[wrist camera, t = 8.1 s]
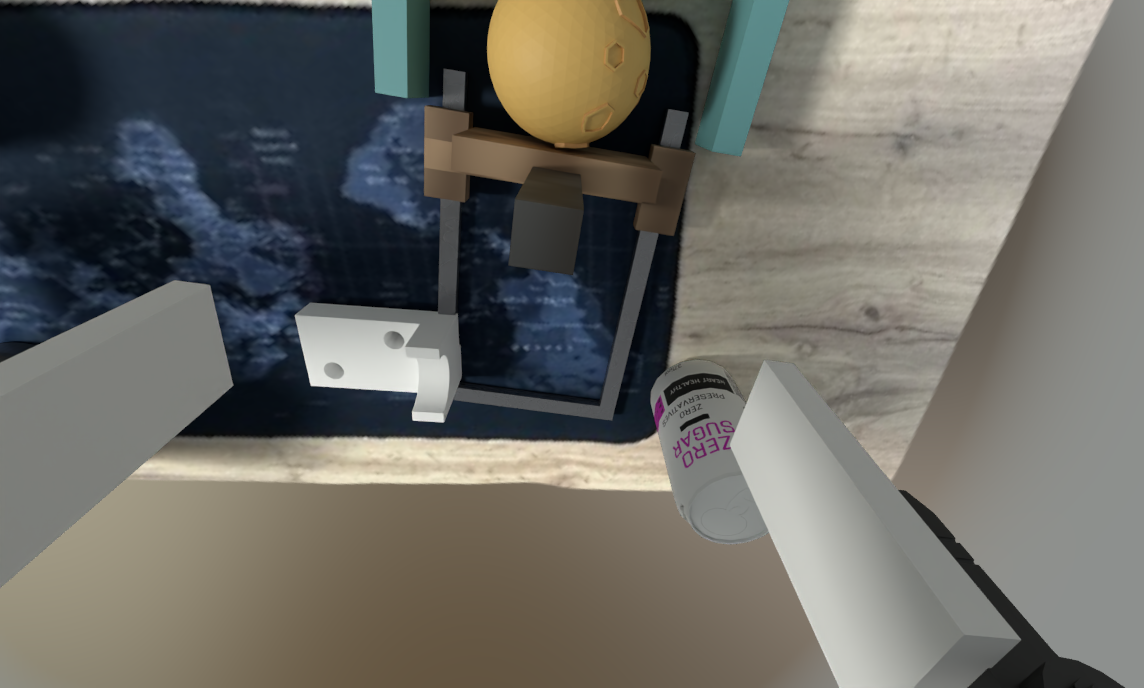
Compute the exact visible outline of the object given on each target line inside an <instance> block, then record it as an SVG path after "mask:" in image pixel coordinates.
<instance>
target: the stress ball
mask: <svg viewBox="0 0 1144 688" xmlns="http://www.w3.org/2000/svg"><path fill="white" fill-rule="evenodd" d="M649 30H650V29H649V24H648V20H647V15H646V12H645V9H644V6H643V4H642V1H641V0H498V2H497V4H496V6H495V9H494V11H493V15H492V18H491V21H490V26H489V32H488V40H487V58H488V66H489V72H490V76H491V80H492V83H493V86H494V89H495V91H496V93H497V96H498V98H499V100H500V101H501V103H502V105H503V107H504V108H505V110H506V111H507V113H508V114H509V115H510V116H511V118H512V119H513V120H514V121H515V122H516V123H517V124H518V125H519V126H520V127H521V128H523V129H524V130H525V131H527V132H528V133H529V134H531V135H533V136H535V137H536V138H538V139H541V140H543V141H545V142H549V143H552V144H555V148H556V149H560V148H573V149H576V148H587V147H589V143H590V142H592V141H595V140H598V139H600V138H602V137H604V136H606V135H607V134H609V133H610V132H611V131H613V130H614V129H616V128H617V127H618V126H619V125H620V124H621V123H622V122H623V121H624V120H625V119H626V118H627V116H628V115H629V114H630V113H631V111H632V110H633V109H634V108H635V106H636V105H637V104H638V102H639V100H640V97H641V94H642V93H643V91H644V89H645V86H646V82H647V78H648V72H649V65H650V52H651V46H650V34H649Z"/></svg>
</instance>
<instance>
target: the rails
mask: <svg viewBox="0 0 1144 688" xmlns="http://www.w3.org/2000/svg"><path fill="white" fill-rule="evenodd" d="M467 90H468V73H466V72H461V71H455V70H450V69H444V74H443V107H444V108H450V109H455V110H461V111H467ZM688 114H689V113H688V112H682V111H677V110H671V109H666V111H665V116H664V120H663V124H662V129H661V133H660V138H659V142H658V145H661V146H667V147H673V148H679V149H680V146H681V142H682V138H683V134H684V130H685V126H686V122H687V118H688ZM461 223H462V202H459V201H453V200H447V199H441V204H440V248H439V291H438V314H443V315H456V313H457V312H458V290H459V268H460V246H461ZM658 234H659V233H653V232H646V231H640V230H638V234H637V238H636V243H635V247H634V252H633V256H632V260H631V265H630V269H629V274H628V278H627V282H626V287H625V291H624V295H623V300H622V304H621V309H620V313H619V317H618V322H617V326H616V331H615V335H614V339H613V344H612V348H611V352H610V357H609V361H608V366H607V370H606V374H605V379H604V383H603V388H602V392H601V396H600V401H599V400H592V399H584V398H577V397H569V396H562V395H554V394H547V393H539V392H531V391H524V390H516V389H509V388H501V387H494V386H486V385H478V384H471V383H463V382H460V383H459V385H458V388H457V390H456V393H455V396H454V398H453V400H458V401H466V402H474V403H481V404H489V405H497V406H505V407H512V408H520V409H528V410H536V411H543V412H551V413H559V414H566V415H574V416H582V417H590V418H597V419H605V420H612V418H613V414H614V410H615V406H616V402H617V398H618V394H619V390H620V386H621V382H622V378H623V374H624V370H625V366H626V362H627V358H628V354H629V350H630V346H631V342H632V338H633V334H634V330H635V326H636V322H637V318H638V314H639V310H640V306H641V302H642V298H643V294H644V290H645V286H646V282H647V278H648V274H649V270H650V266H651V262H652V258H653V254H654V250H655V246H656V242H657V238H658Z"/></svg>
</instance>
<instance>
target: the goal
mask: <svg viewBox="0 0 1144 688" xmlns="http://www.w3.org/2000/svg"><path fill="white" fill-rule="evenodd" d="M788 3H789V0H732V4H731V8H730V12H729V15H728V19H727V23H726V27H725V31H724V34H723V38H722V42H721V46H720V50H719V53H718V57H717V61H716V65H715V69H714V72H713V76H712V80H711V84H710V88H709V91H708V95H707V99H706V103H705V107H704V110H703V114H702V118H701V122H700V126H699V129H698V133H697V137H696V141H695V144H696V145H698V146H700V147H703V148H705V149H707V150H710V151H712V152H718V153H724V154H729V155H735V156H741V154H742V151H743V148H744V145H745V141H746V138H747V135H748V132H749V129H750V125H751V122H752V119H753V116H754V112H755V109H756V106H757V103H758V100H759V96H760V93H761V90H762V87H763V83H764V80H765V77H766V74H767V71H768V67H769V64H770V61H771V58H772V54H773V51H774V48H775V45H776V42H777V38H778V35H779V32H780V29H781V25H782V22H783V19H784V16H785V13H786V9H787V6H788ZM372 19H373V45H374V71H375V93H381V94H387V95H393V96H398V97H404V98H425V97H429V48H430V0H372Z"/></svg>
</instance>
